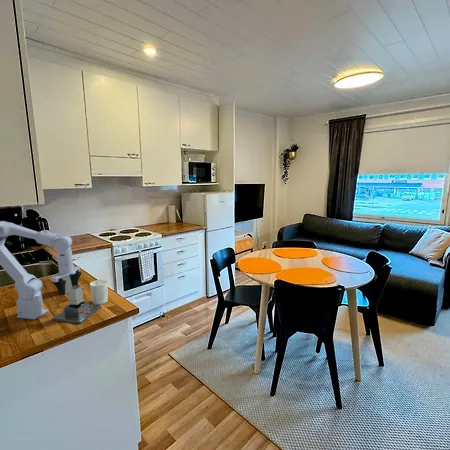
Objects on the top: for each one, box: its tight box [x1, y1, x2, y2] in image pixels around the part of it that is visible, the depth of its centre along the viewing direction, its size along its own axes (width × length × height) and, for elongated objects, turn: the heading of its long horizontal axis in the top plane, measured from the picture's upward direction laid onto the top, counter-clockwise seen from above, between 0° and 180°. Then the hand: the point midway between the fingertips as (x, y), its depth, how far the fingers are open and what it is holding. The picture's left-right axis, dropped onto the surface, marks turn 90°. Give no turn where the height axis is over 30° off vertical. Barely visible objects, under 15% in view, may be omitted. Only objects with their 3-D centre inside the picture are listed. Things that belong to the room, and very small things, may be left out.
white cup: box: [89, 279, 109, 306], centre depth 134 cm, size 8×8×10 cm
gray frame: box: [51, 300, 102, 325], centre depth 123 cm, size 14×14×5 cm
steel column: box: [67, 285, 84, 305], centre depth 121 cm, size 4×4×7 cm
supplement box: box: [62, 265, 75, 295], centre depth 146 cm, size 7×7×13 cm
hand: (68, 290), depth 124 cm, fingers open, 7 cm apart
